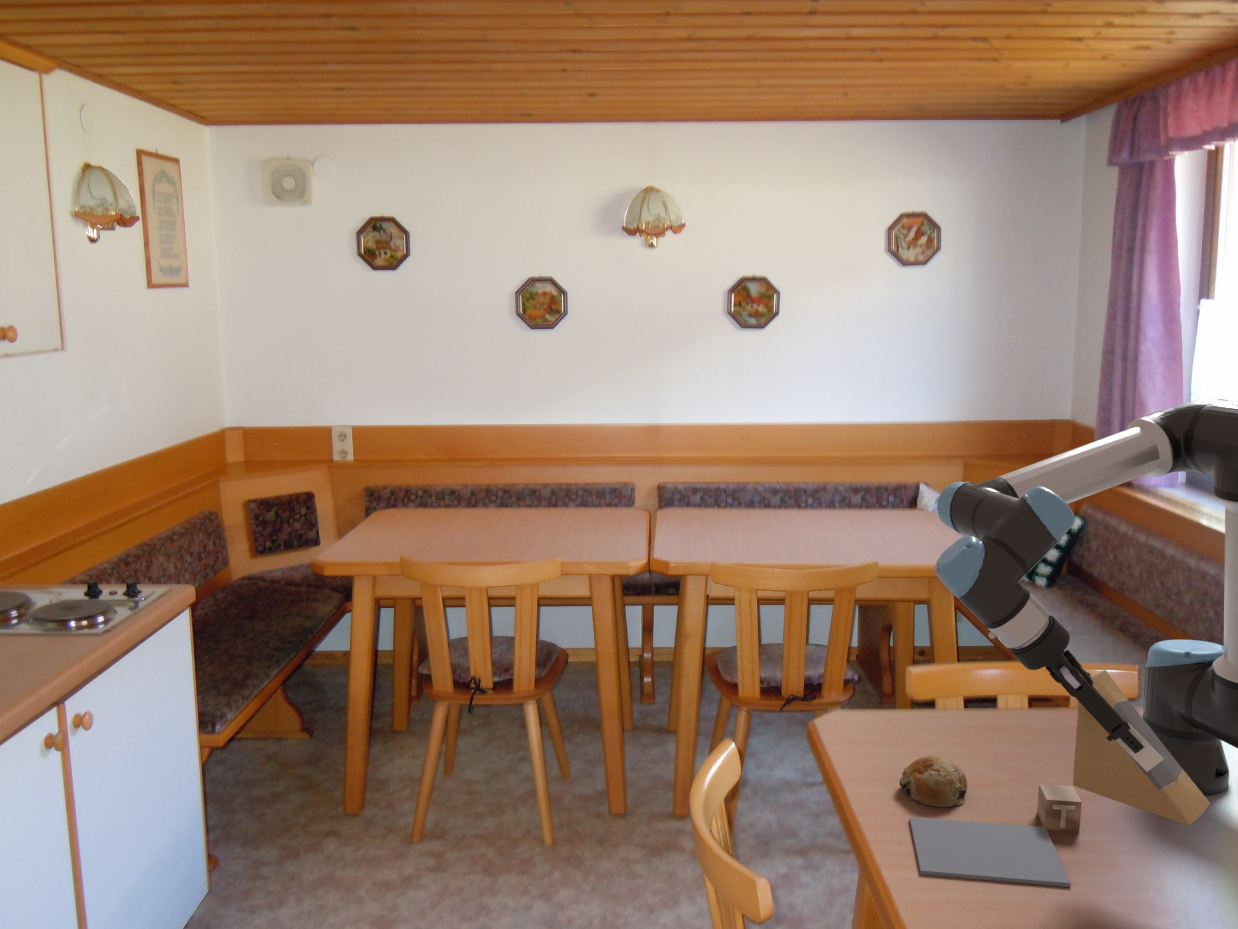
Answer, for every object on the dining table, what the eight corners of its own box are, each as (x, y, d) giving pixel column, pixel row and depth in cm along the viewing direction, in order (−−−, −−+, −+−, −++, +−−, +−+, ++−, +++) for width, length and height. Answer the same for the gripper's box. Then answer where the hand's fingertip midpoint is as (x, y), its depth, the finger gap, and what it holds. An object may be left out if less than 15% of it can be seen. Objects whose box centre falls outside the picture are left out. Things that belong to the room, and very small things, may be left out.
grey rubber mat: (1045, 831, 157) (1045, 827, 157) (1070, 887, 142) (1070, 883, 142) (909, 820, 160) (909, 817, 160) (920, 874, 146) (920, 870, 146)
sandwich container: (1190, 827, 133) (1201, 717, 130) (1071, 786, 144) (1078, 684, 141) (1212, 803, 139) (1223, 698, 136) (1096, 766, 149) (1104, 667, 147)
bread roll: (943, 833, 164) (968, 796, 161) (887, 793, 168) (910, 756, 165) (959, 806, 172) (983, 771, 169) (905, 768, 176) (927, 733, 173)
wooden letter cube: (1070, 816, 162) (1072, 786, 161) (1079, 833, 156) (1081, 802, 156) (1037, 813, 162) (1039, 784, 161) (1044, 830, 157) (1047, 800, 156)
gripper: (991, 621, 154) (1092, 724, 155) (1026, 682, 131) (1145, 803, 131) (1031, 589, 153) (1133, 693, 153) (1073, 644, 129) (1194, 767, 129)
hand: (1139, 744), depth 142 cm, fingers closed on sandwich container, 12 cm apart
